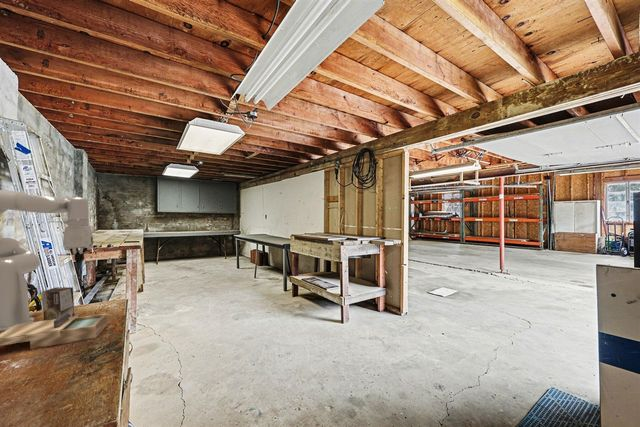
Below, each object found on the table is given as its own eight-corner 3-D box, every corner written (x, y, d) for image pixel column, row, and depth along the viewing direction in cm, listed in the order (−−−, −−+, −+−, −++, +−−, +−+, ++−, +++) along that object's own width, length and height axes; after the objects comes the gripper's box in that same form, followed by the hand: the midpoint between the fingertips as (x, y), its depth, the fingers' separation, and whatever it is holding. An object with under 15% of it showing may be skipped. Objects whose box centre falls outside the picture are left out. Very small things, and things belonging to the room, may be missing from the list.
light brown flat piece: (-11, 347, 98) (-12, 333, 98) (17, 329, 113) (16, 317, 113) (60, 336, 106) (59, 323, 106) (78, 320, 120) (77, 309, 120)
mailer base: (30, 348, 103) (29, 335, 103) (50, 332, 116) (50, 321, 116) (95, 338, 111) (94, 326, 110) (107, 324, 124) (107, 313, 123)
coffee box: (75, 321, 128) (73, 287, 127) (61, 327, 122) (59, 291, 121) (58, 320, 129) (56, 286, 128) (43, 326, 122) (41, 291, 122)
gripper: (53, 224, 123) (55, 264, 124) (94, 223, 128) (95, 262, 129) (63, 223, 130) (64, 261, 131) (100, 222, 135) (101, 259, 136)
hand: (79, 261), depth 130 cm, fingers closed
